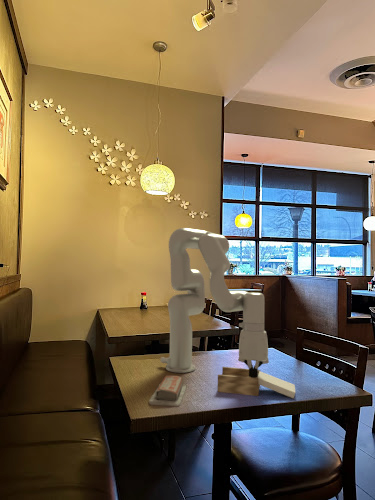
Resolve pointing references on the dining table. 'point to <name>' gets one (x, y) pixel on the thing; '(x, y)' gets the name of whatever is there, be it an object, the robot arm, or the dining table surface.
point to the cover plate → (276, 384)
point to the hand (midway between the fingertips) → (253, 378)
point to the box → (237, 382)
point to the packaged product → (169, 392)
